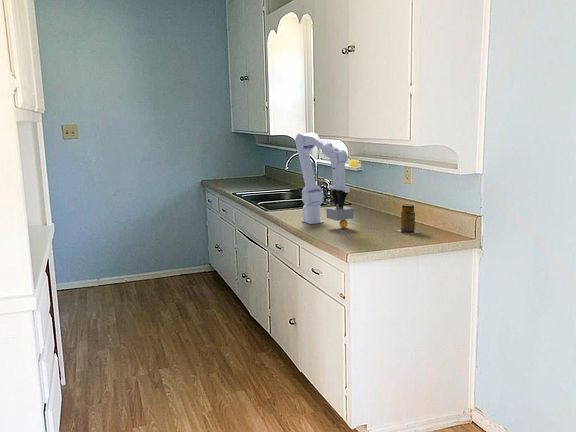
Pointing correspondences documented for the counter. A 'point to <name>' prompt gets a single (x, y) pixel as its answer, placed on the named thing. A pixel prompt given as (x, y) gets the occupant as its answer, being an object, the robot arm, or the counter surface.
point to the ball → (343, 223)
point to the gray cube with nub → (340, 213)
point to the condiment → (408, 219)
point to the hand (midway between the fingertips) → (339, 206)
